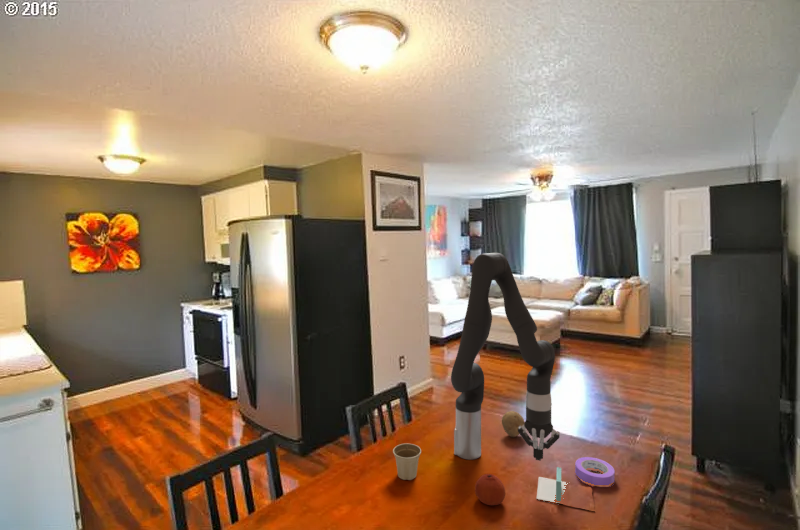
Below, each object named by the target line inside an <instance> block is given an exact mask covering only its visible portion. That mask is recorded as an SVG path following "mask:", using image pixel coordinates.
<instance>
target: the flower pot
mask: <svg viewBox="0 0 800 530" xmlns="http://www.w3.org/2000/svg"><path fill="white" fill-rule="evenodd" d="M392 453H393V455H394V458H395V463H396V464H395V465H396V472H397V476H398V478H399V479H401V480H403V481H406V480H408V481H412V480H414V479H415V478H416V477H417V473H418V466H419V460H420V459H419V458H420V455H421V454H422V449H421V447H420V446H419V445H416V444H414V443H407V442H406V443H401V444H398V445H396V446H395V447H394V448H393V449H392Z"/></svg>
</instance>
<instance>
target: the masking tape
mask: <svg viewBox="0 0 800 530" xmlns="http://www.w3.org/2000/svg"><path fill="white" fill-rule="evenodd" d="M574 464H575V465H574V469H575V470H574V474H575V473H576V475H577V476H578V477H579V478H580V479H582V480H583V481H585V482H588V483H591V484H594V485H609V484H611V483H613V482H614V483H615V472H616V471H615V468H614V467H613V466H612V465H611V464H610V463H608V462H607V461H605V460H603V459H601V458H596V457H591V456H584V457H583V456H582V457H579V458H578V459H576V461H575V463H574ZM587 468H594V469H599V470H601V471H603V472H604V473H603V474H601V473H598V472H596V473H595V472H592V471H591V470H586V469H587ZM576 475H575V476H576Z"/></svg>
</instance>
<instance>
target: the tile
mask: <svg viewBox="0 0 800 530" xmlns="http://www.w3.org/2000/svg"><path fill="white" fill-rule="evenodd" d="M555 474H556V479H555V480H556V500H557V501H561V481H562V467H559V466H556V473H555Z"/></svg>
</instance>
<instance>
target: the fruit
mask: <svg viewBox="0 0 800 530" xmlns="http://www.w3.org/2000/svg"><path fill="white" fill-rule="evenodd" d="M474 492H475V495H476V497H477V499H478V500H479V501H480V502H482V504H484V505H487V506H497V505H500V504H502V503H503V502H504V500H505V497H506V488H505V485H504V482H502V480H501V479H500V478H499V477H498V476H496V475H494V474H491V473H485V474H483V475H481V476H480V477H479V478H478V479H477V481H475V485H474Z"/></svg>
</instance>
